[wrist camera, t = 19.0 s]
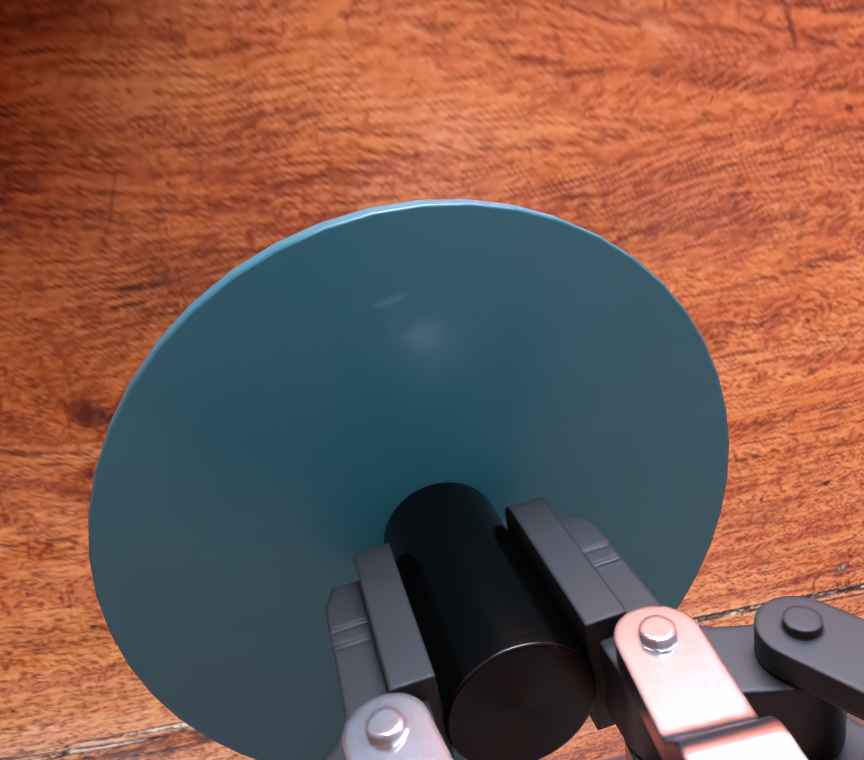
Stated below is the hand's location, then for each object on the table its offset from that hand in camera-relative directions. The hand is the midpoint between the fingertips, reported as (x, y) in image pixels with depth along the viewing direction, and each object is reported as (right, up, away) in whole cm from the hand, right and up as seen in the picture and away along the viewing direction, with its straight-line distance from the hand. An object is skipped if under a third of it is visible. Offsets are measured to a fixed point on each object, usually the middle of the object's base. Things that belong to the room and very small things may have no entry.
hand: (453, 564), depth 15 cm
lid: (0, +1, +1) cm, 2 cm away
